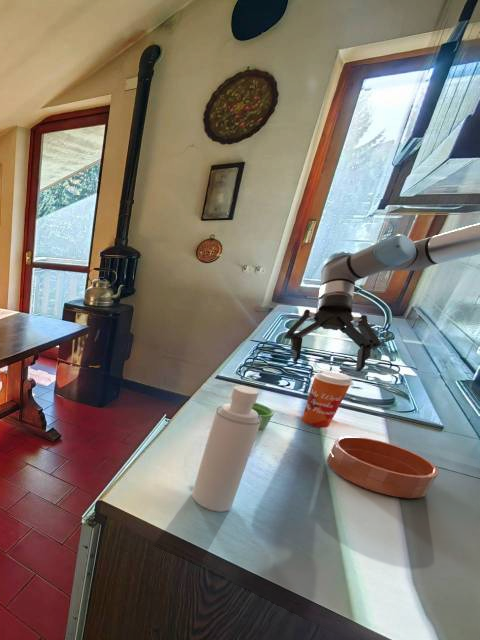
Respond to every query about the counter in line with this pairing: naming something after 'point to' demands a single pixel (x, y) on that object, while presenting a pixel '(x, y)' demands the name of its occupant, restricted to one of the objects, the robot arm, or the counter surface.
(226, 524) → the counter surface
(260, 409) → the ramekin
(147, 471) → the counter surface
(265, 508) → the counter surface
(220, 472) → the white bottle
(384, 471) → the bowl
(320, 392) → the paper cup
